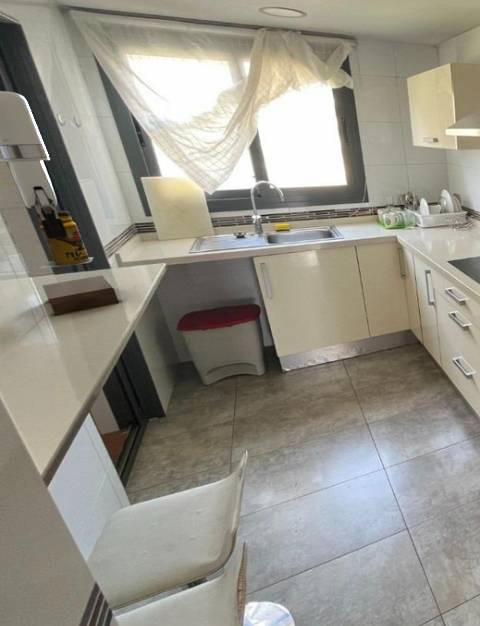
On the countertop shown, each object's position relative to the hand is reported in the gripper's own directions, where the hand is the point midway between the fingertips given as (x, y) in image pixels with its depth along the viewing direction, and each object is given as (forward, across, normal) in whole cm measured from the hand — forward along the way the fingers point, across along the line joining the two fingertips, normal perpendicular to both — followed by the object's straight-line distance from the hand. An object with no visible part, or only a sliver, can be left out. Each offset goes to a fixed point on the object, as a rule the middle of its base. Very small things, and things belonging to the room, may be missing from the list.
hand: (56, 234), depth 107 cm
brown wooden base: (+17, 0, 0) cm, 17 cm away
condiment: (+7, 0, 0) cm, 7 cm away
